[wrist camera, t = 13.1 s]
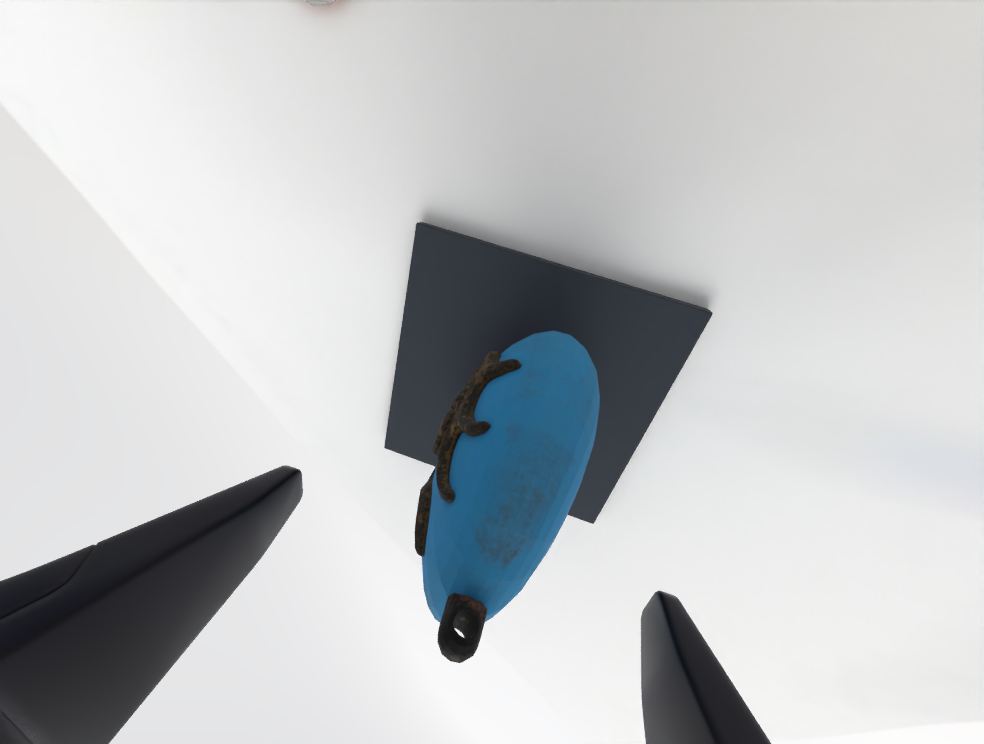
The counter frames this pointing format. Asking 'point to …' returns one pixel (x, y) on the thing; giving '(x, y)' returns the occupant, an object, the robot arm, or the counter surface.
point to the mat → (518, 314)
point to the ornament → (503, 480)
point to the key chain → (319, 2)
